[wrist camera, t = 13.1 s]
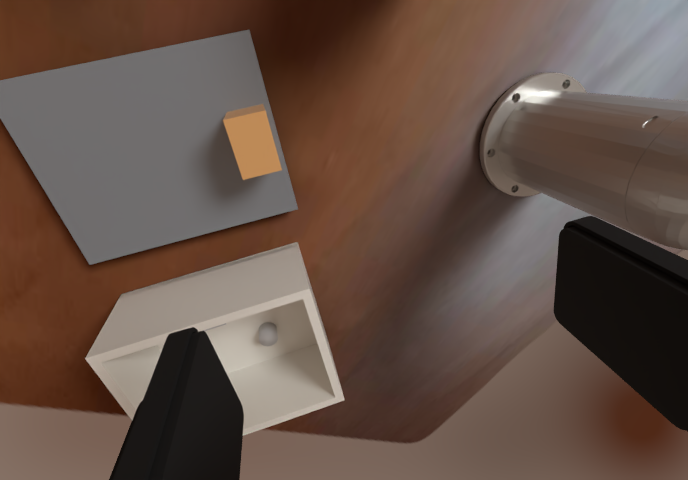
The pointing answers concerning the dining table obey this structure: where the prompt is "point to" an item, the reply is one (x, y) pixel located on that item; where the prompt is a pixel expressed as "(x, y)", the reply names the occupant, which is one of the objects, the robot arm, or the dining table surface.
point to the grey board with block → (152, 144)
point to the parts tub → (229, 336)
